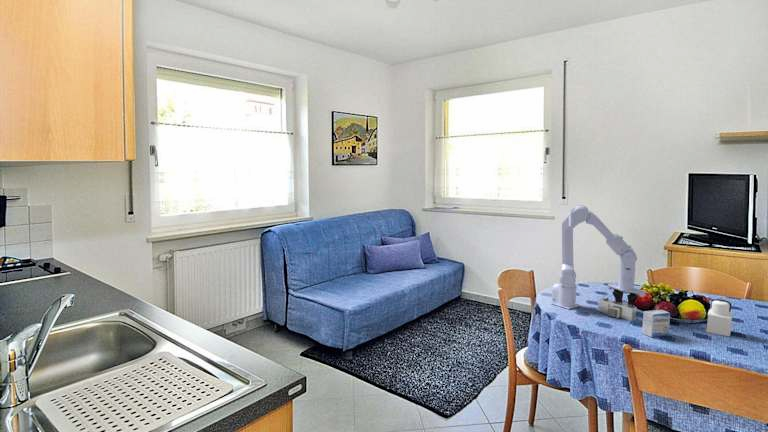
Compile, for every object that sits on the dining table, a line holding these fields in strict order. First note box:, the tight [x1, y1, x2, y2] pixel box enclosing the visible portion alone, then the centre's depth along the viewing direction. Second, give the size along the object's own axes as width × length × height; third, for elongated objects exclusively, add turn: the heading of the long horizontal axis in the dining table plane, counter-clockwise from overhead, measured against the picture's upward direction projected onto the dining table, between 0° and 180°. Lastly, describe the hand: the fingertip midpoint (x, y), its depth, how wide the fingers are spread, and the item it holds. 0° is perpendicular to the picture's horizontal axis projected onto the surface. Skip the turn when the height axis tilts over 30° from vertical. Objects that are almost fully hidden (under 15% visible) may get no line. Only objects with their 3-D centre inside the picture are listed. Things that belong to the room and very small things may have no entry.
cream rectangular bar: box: [607, 301, 628, 318], centre depth 189 cm, size 14×4×4 cm, turn 125°
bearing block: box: [597, 297, 637, 322], centre depth 187 cm, size 14×3×6 cm, turn 34°
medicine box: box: [641, 309, 671, 339], centre depth 167 cm, size 8×4×9 cm, turn 105°
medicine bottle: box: [705, 298, 734, 337], centre depth 169 cm, size 7×7×12 cm
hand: (624, 309), depth 191 cm, fingers closed on cream rectangular bar, 4 cm apart
